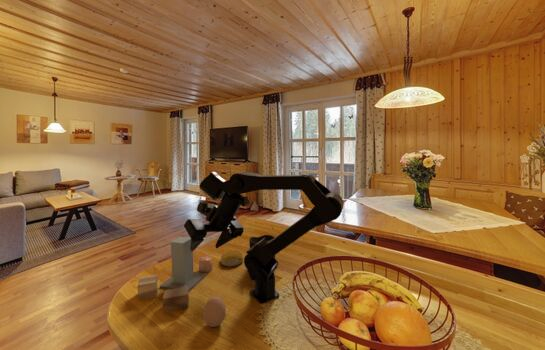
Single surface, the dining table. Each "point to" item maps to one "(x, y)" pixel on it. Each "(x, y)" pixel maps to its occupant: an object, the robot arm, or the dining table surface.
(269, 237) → the pen holder
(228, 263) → the bread roll
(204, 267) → the pink rounded pebble
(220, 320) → the mauve oval ball
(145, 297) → the beech cube
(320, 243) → the dining table surface
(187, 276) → the tall block
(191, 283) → the coaster
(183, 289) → the walnut brick
